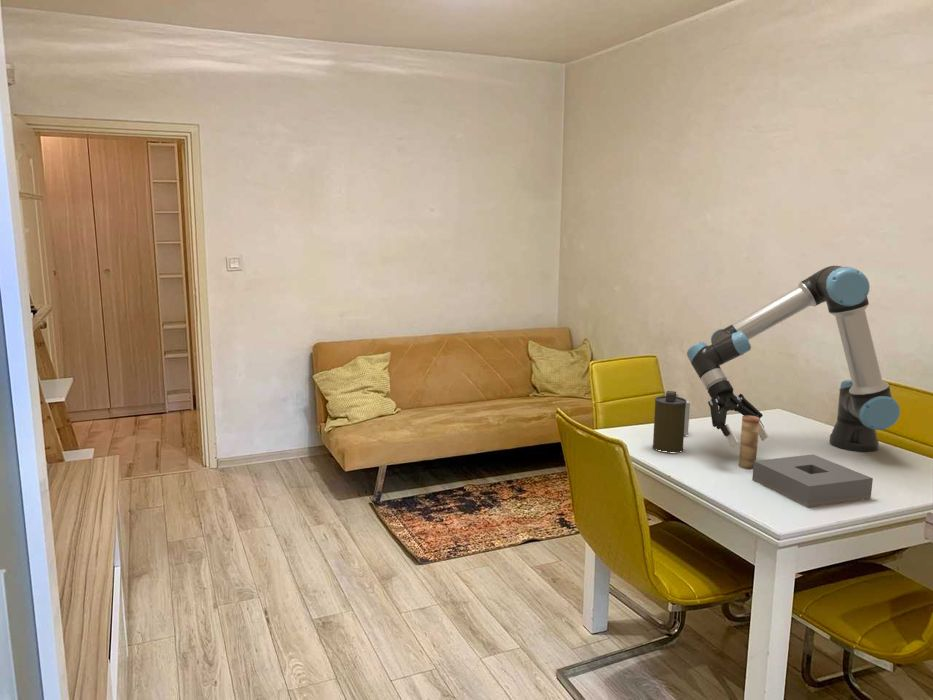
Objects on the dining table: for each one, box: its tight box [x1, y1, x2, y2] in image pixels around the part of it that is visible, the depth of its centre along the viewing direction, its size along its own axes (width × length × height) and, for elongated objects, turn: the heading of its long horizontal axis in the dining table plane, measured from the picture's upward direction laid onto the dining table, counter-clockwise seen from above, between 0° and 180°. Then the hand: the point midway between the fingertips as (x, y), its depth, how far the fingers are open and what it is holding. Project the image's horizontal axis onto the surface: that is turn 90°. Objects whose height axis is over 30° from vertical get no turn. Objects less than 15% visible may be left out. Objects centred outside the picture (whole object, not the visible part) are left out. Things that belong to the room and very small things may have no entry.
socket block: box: [751, 454, 874, 508], centre depth 206 cm, size 22×22×6 cm
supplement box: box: [684, 399, 691, 436], centre depth 260 cm, size 7×7×13 cm
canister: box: [651, 390, 688, 453], centre depth 241 cm, size 11×10×20 cm
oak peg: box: [738, 415, 759, 470], centre depth 224 cm, size 5×5×16 cm
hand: (750, 441), depth 223 cm, fingers open, 13 cm apart
